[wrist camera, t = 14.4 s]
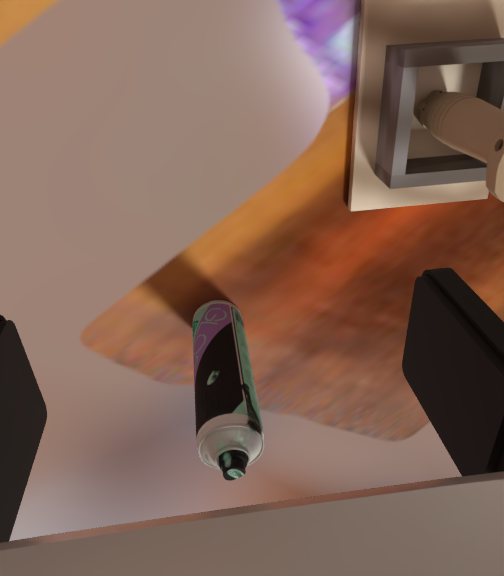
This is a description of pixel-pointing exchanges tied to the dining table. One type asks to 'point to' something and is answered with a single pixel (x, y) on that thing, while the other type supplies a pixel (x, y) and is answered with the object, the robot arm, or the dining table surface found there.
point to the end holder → (420, 98)
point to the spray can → (225, 391)
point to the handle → (468, 130)
